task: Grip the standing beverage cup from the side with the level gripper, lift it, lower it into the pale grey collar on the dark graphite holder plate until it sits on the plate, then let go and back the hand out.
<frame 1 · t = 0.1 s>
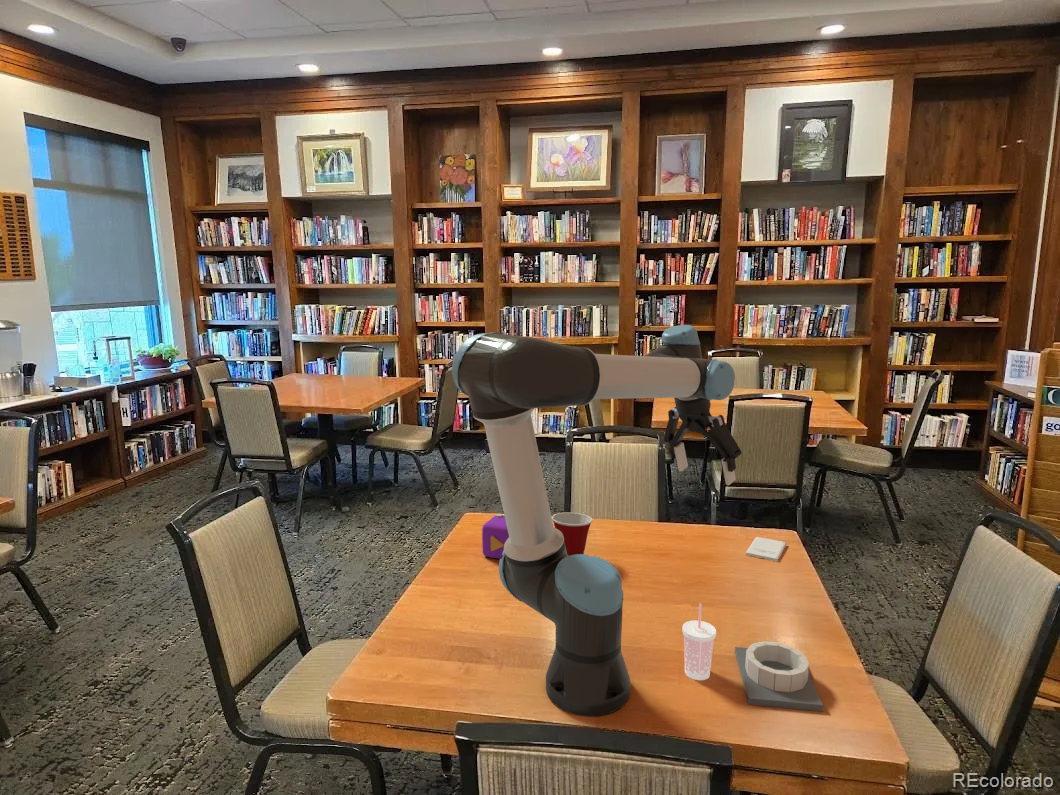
hand: (706, 475, 149), 28 cm above the table, tool tilted 20°, fingers open, 13 cm apart
cup holder: (775, 679, 117), on the table
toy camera: (509, 555, 172), on the table
beverage cup: (697, 673, 119), on the table
plastic cup: (571, 560, 168), on the table
plant pot: (520, 531, 188), on the table
external hard drive: (765, 553, 174), on the table
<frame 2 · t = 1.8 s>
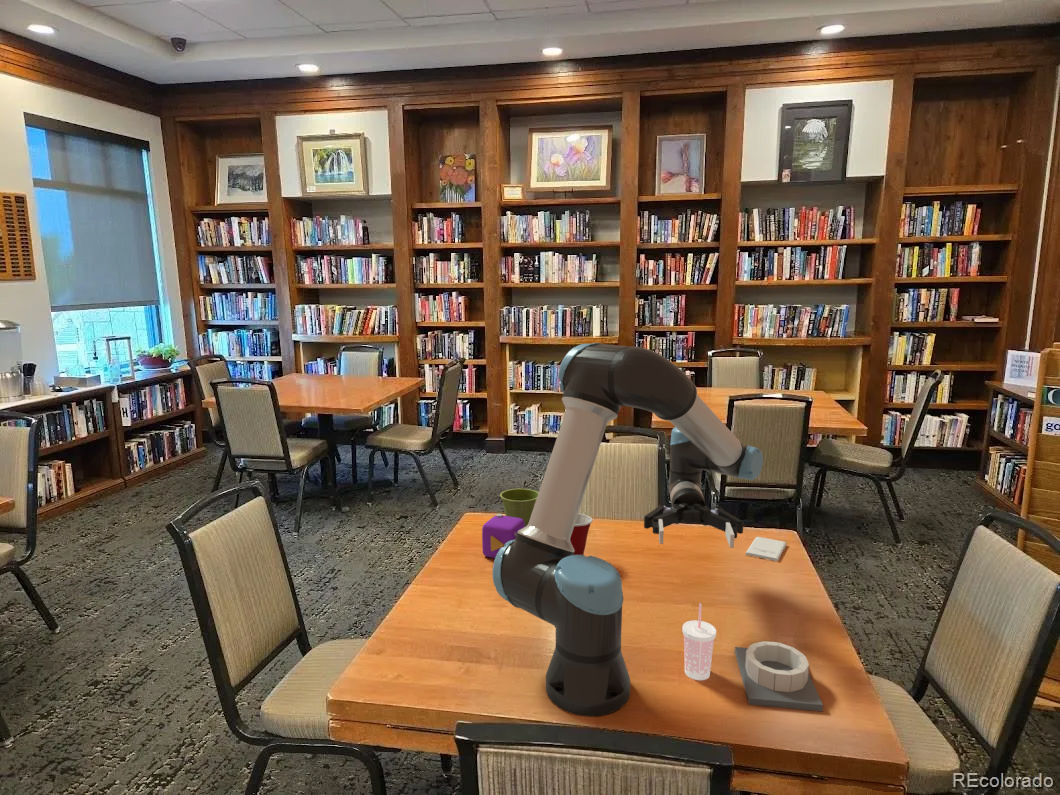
hand: (696, 539, 125), 22 cm above the table, tool horizontal, fingers open, 13 cm apart
nothing on the table moved.
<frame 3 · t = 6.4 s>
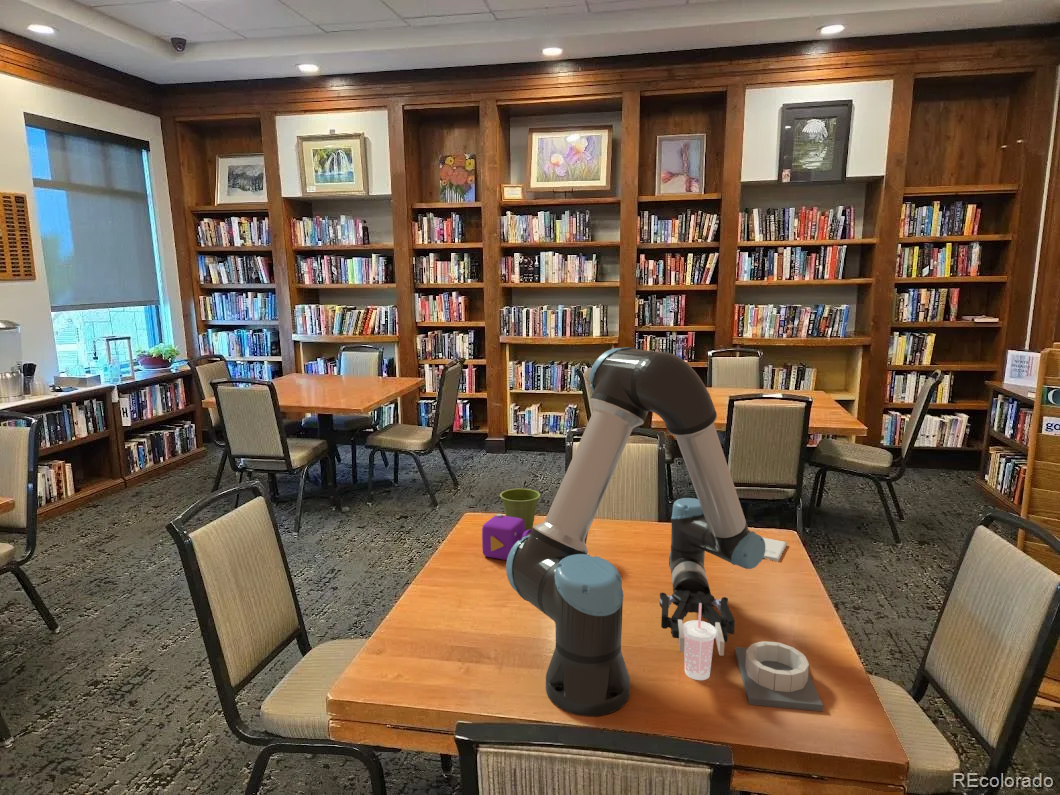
hand: (702, 646, 112), 8 cm above the table, tool horizontal, fingers closed on beverage cup, 6 cm apart
beverage cup: (697, 673, 119), on the table, touching gripper
everything else where it was.
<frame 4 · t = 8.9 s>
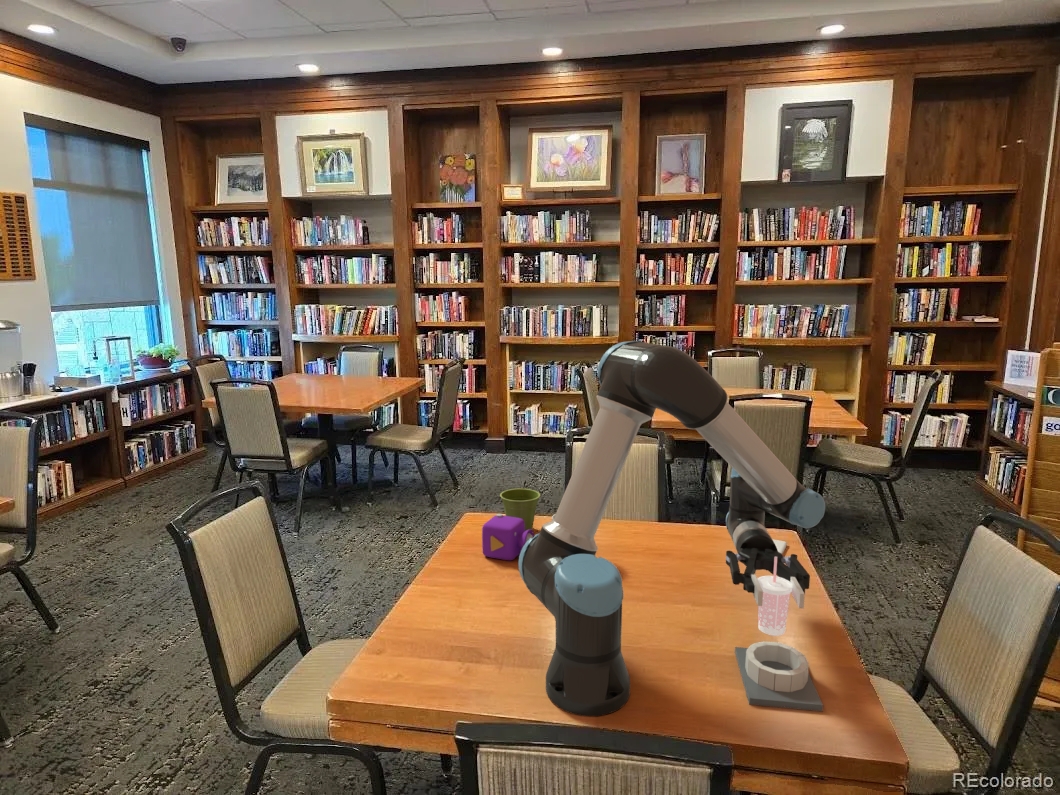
hand: (781, 599, 109), 18 cm above the table, tool horizontal, fingers closed on beverage cup, 6 cm apart
beverage cup: (771, 629, 116), point 10 cm above the table, touching gripper
everything else where it was.
when the fingers open (10 cm above the table, at t = 11.2 s): beverage cup stays where it is, resting on cup holder.
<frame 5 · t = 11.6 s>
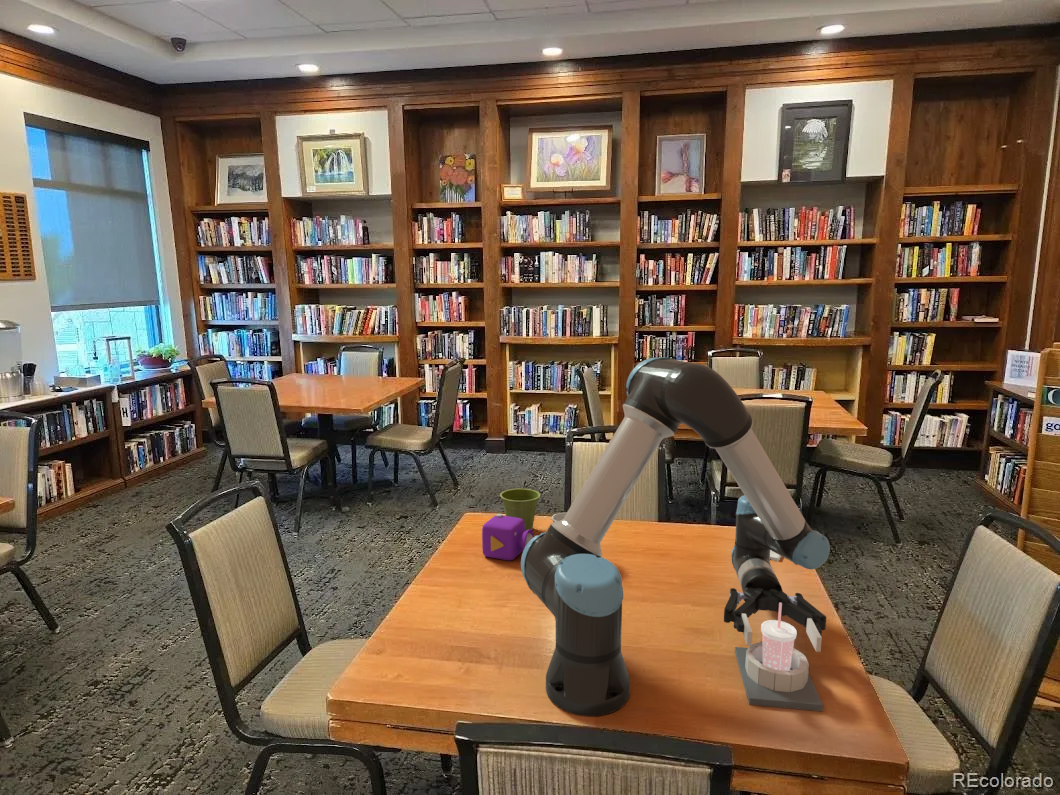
hand: (783, 641, 111), 10 cm above the table, tool horizontal, fingers open, 11 cm apart
beverage cup: (775, 674, 117), point 1 cm above the table, touching cup holder
everything else where it was.
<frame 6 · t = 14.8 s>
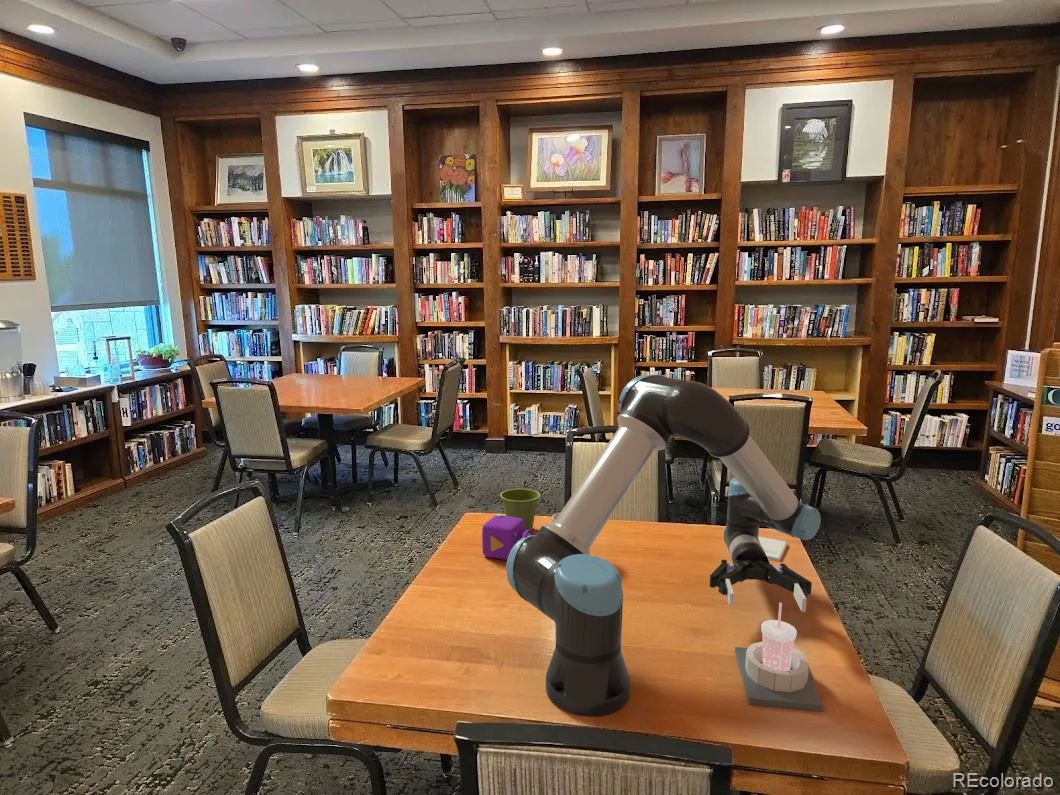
hand: (767, 602, 124), 10 cm above the table, tool horizontal, fingers open, 13 cm apart
nothing on the table moved.
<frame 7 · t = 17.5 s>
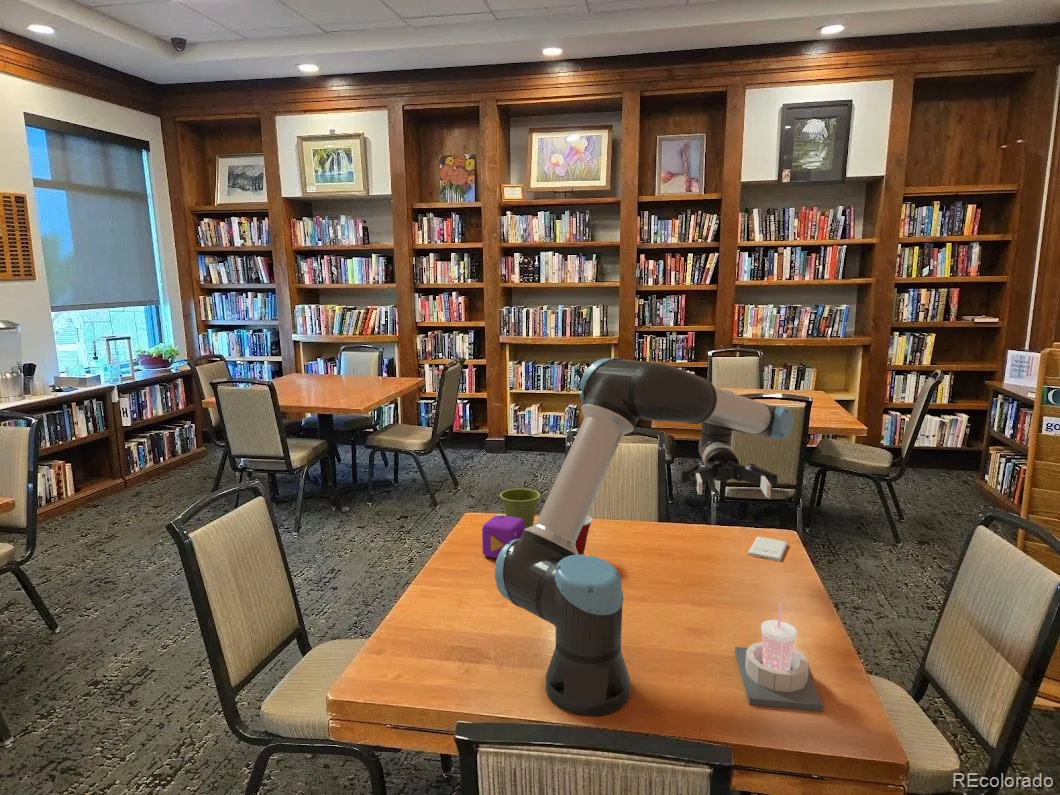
hand: (734, 490, 131), 30 cm above the table, tool horizontal, fingers open, 13 cm apart
nothing on the table moved.
at the end: beverage cup 0.1 cm off-centre on the cup holder, point 1.0 cm above the cup holder's base; beverage cup tilted 0°; the gripper is holding nothing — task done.
